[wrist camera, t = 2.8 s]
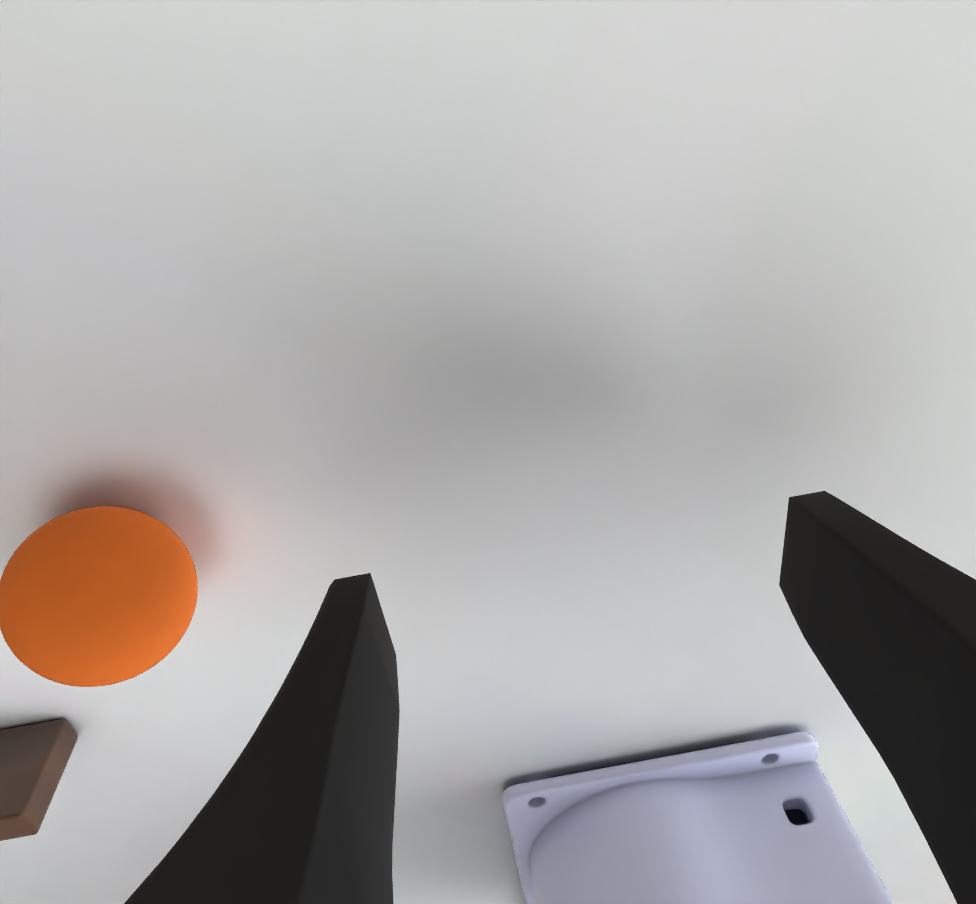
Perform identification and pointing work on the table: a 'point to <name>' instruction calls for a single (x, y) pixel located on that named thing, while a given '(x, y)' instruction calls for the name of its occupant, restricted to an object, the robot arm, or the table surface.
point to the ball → (97, 596)
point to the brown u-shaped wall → (31, 773)
